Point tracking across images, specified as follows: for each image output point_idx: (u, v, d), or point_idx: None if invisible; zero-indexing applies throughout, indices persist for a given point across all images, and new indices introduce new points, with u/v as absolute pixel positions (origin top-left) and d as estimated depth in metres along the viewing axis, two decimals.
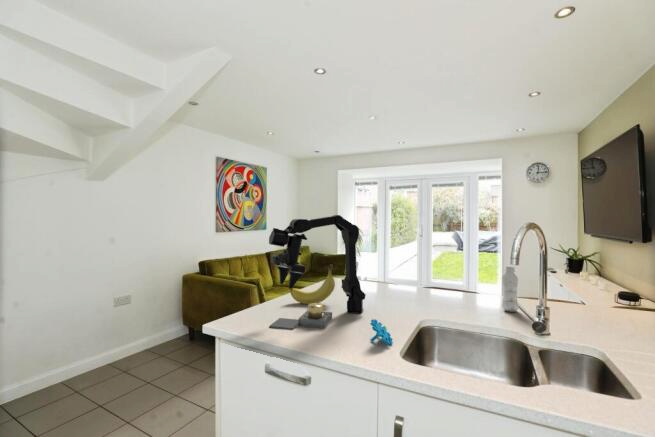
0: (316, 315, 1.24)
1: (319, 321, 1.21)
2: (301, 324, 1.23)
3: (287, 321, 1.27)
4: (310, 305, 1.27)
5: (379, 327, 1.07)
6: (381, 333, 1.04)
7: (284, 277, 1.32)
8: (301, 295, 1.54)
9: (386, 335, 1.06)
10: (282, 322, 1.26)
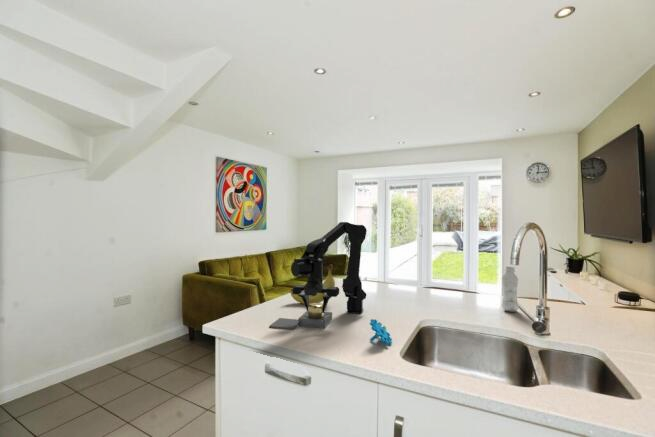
0: (316, 315, 1.24)
1: (319, 321, 1.21)
2: (301, 324, 1.23)
3: (287, 321, 1.27)
4: (310, 305, 1.27)
5: (378, 327, 1.07)
6: (380, 333, 1.04)
7: (308, 303, 1.29)
8: None
9: (385, 335, 1.06)
10: (282, 322, 1.26)
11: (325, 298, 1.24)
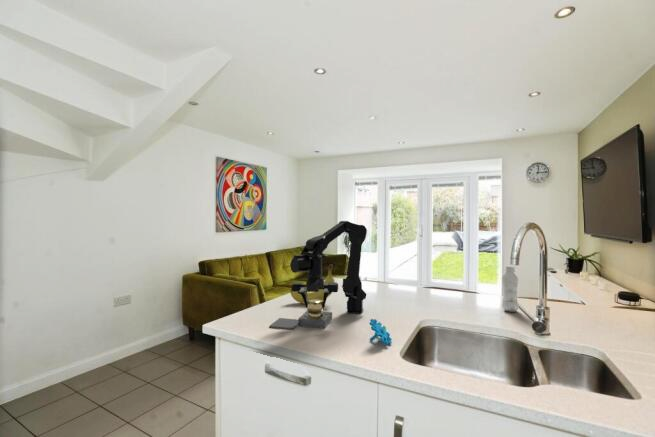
0: (317, 311, 1.24)
1: (319, 321, 1.21)
2: (301, 324, 1.23)
3: (287, 321, 1.27)
4: (310, 302, 1.27)
5: (378, 327, 1.07)
6: (380, 333, 1.05)
7: (307, 300, 1.28)
8: None
9: (385, 335, 1.06)
10: (282, 322, 1.26)
11: (326, 294, 1.24)
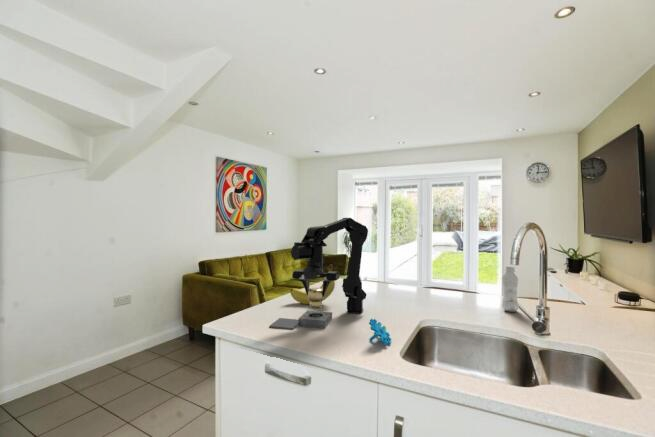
0: (316, 299, 1.24)
1: (319, 321, 1.21)
2: (301, 324, 1.23)
3: (287, 321, 1.27)
4: (310, 289, 1.27)
5: (378, 327, 1.08)
6: (379, 333, 1.05)
7: (308, 287, 1.29)
8: (301, 295, 1.54)
9: (385, 335, 1.06)
10: (282, 322, 1.26)
11: (325, 282, 1.23)
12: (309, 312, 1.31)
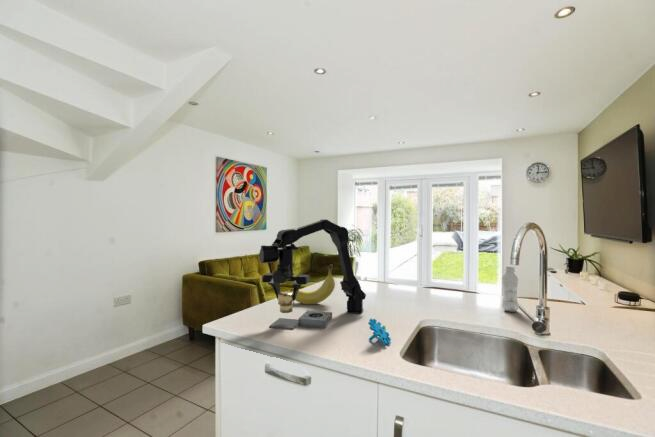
0: (286, 303, 1.22)
1: (319, 321, 1.21)
2: (301, 324, 1.23)
3: (287, 321, 1.27)
4: (280, 293, 1.25)
5: (377, 327, 1.08)
6: (378, 333, 1.05)
7: (279, 291, 1.27)
8: (301, 295, 1.54)
9: (384, 335, 1.07)
10: (282, 322, 1.26)
11: (295, 286, 1.22)
12: (309, 312, 1.31)
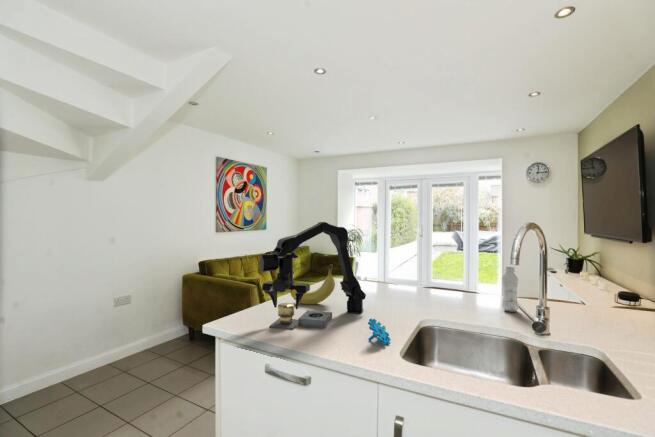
0: (286, 315, 1.22)
1: (319, 321, 1.21)
2: (301, 324, 1.23)
3: None
4: (280, 305, 1.25)
5: (377, 326, 1.08)
6: (378, 332, 1.05)
7: (276, 299, 1.27)
8: None
9: (384, 335, 1.07)
10: None
11: (297, 295, 1.21)
12: (309, 312, 1.31)
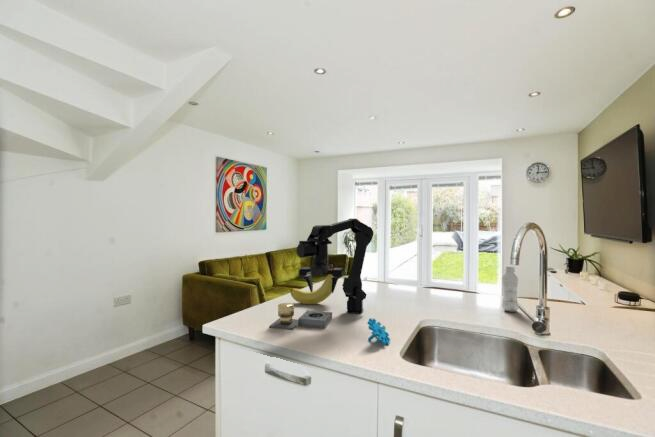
0: (286, 315, 1.22)
1: (319, 321, 1.21)
2: (301, 324, 1.23)
3: None
4: (280, 305, 1.25)
5: (376, 326, 1.08)
6: (377, 332, 1.05)
7: (312, 284, 1.33)
8: (301, 295, 1.54)
9: (383, 335, 1.07)
10: None
11: (334, 279, 1.27)
12: (309, 312, 1.31)
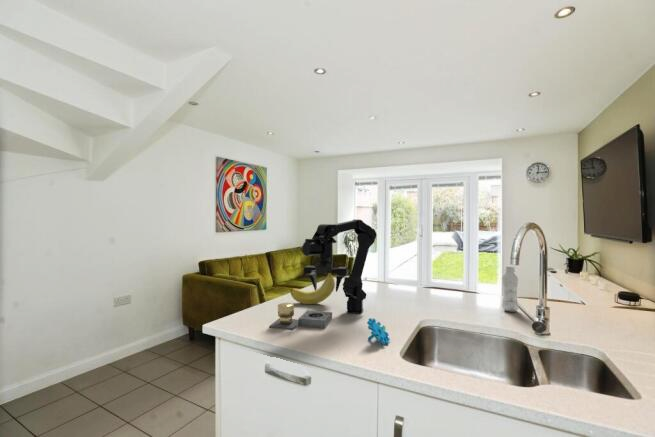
0: (286, 315, 1.22)
1: (319, 321, 1.21)
2: (301, 324, 1.23)
3: None
4: (280, 305, 1.25)
5: (376, 326, 1.08)
6: (377, 332, 1.05)
7: (316, 283, 1.33)
8: (301, 295, 1.54)
9: (383, 335, 1.07)
10: None
11: (338, 277, 1.27)
12: (309, 312, 1.31)
